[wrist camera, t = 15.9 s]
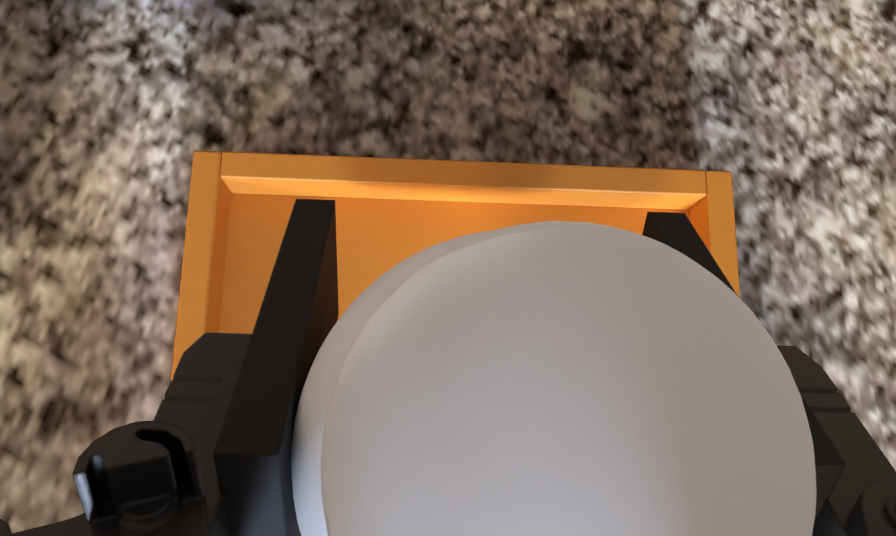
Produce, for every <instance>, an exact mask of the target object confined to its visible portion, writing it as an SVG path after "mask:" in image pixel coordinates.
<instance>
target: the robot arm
mask: <svg viewBox="0 0 896 536" xmlns="http://www.w3.org/2000/svg"><path fill="white" fill-rule="evenodd" d="M642 235H643V236H646V237H649V238H652V239H654V240H656V241H659V242H661V243H664V244H666V245H668V246H670V247H671V248H673V249H675V250H677V251H679V252H680V253H682V254H684V255H686V256H687V257H689V258H690V259H692V260H693V261H695V262H696V263H698V264H700V265H701V266H702V267H704V268H705V269H706V270H708V271H709V272H711V273H712V274H713V275H715V276H716V277H717V278H718V279H720V280H721V281H722V282H723V283H724V284H725V285H727V286H728V287H729V288H730V289H731V290H732V291H733V292H734V293H735V294H736V292H735V291H734V289H733V287H732V286H731V284H730V283H729V281H728V280H727V278H726V277H725V275H724V273H723V272H722V270H721V269H720V267H719V266H718V264H717V263H716V261H715V259H714V258H713V256H712V255H711V253H710V252H709V250H708V249H707V247H706V245H705V244H704V242H703V241H702V239H701V238H700V236H699V235H698V233H697V231H696V230H695V228H694V227H693V225H692V224H691V222H690V221H689V219H688V217H687V216H686V214H685V213H673V212H647V216H646V220H645V224H644V229H643V233H642ZM736 295H737V294H736ZM737 296H738V295H737ZM338 314H339V307H338V275H337V243H336V211H335V200H319V199H296V200H295V203H294V206H293V209H292V212H291V216H290V219H289V222H288V225H287V228H286V231H285V234H284V237H283V240H282V243H281V246H280V249H279V253H278V256H277V259H276V262H275V265H274V268H273V271H272V274H271V277H270V280H269V283H268V286H267V290H266V293H265V296H264V299H263V302H262V305H261V308H260V311H259V314H258V317H257V320H256V323H255V327H254V330H253V333H252V334H243V333H204V334H203V335H202V336H201V337H200V338H199V339H198V340H196V341H195V342H194V343H193V344H192V345H191V346H190V347H189V348H188V349H187V350H186V351H184V352H183V355H182V357H181V359H180V361H179V364H178V366H177V368H176V370H175V373H174V375H173V380H171V382H170V384H169V386H168V389H167V391H166V393H165V399H164V400H162V402H161V405H160V407H159V409H158V411H157V414H156V416H155V418H154V421H141V422H134V423H131V424H128V425H125V426H121V427H118V428H115V429H113V430H111V431H109V432H108V433H106V434H105V435H103V436H101V437H100V438H98V439H96V440H95V441H93V442H92V443H91V444H90V446H89V447H88V448H87V449H86V450H85V451H84V452H83V453H82V454H81V455H80V456H79V458H78V461H77V464H76V466H75V469H74V472H73V474H72V475H73V478H74V481H75V484H76V487H77V490H78V493H79V496H80V500H81V503H82V506H83V509H84V512H85V513H84V514H82V515H80V516H77V517H74V518H71V519H68V520H65V521H61V522H57V523H53V524H49V525H45V526H41V527H37V528H33V529H29V530H25V531H21V532H17V533H13V534H12V532H11V529H10V527H9V525H8V523H6V522H5V521H3V520H2V519H0V536H301V533H300V530H299V526H298V522H297V516H296V511H295V505H294V500H293V487H292V474H291V447H292V438H293V429H294V422H295V417H296V413H297V409H298V405H299V401H300V397H301V394H302V390H303V387H304V385H305V382H306V379H307V376H308V374H309V371H310V368H311V366H312V364H313V362H314V360H315V358H316V355H317V353H318V351H319V349H320V347H321V346H322V344H323V342H324V341H325V339H326V337H327V336H328V334H329V332H330V331H331V329H332V328H333V327H334V325H335V324H336V322H337V320H338ZM777 347H778V349H779V351H780V352H781V354H782V356H783V357H784V359H785V361H786V363H787V365H788V367H789V369H790V370H791V373H792V376H793V379H794V381H795V383H796V386H797V388H798V390H799V393H800V395H801V398H802V402H803V405H804V409H805V412H806V416H807V419H808V423H809V428H810V432H811V436H812V440H813V447H814V457H815V470H816V491H817V495H816V513H815V520H814V526H813V533H812V536H896V471H895V470H894V468H893V467H892V465H891V464H890V463H889V461H888V460H887V458H886V457H885V456H884V454H883V453H882V451H881V450H880V448H879V447H878V446H877V444H876V443H875V441H874V440H873V439H872V437H871V436H870V434H869V433H868V432H867V430H866V429H865V427H864V426H863V425H862V423H861V422H860V420H859V419H858V418H857V416H856V415H855V413H851V411H850V409H851V408H850V406H849V405H848V403H847V402H846V401H845V399H844V398H843V396H842V395H841V394H838V393H837V388H836V387H835V385H834V384H833V382H832V381H831V379H830V378H829V377H828V375H827V374H826V372H825V371H824V370H823V368H822V367H821V366H820V365H819V364H817V363H816V362H815V361H814V360H812V359H811V358H810V357H808V356H807V355H806V354H805V353H803V352H802V351H801V350H799V349H798V348H797V347H796V346H777Z"/></svg>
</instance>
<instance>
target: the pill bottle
mask: <svg viewBox="0 0 896 536" xmlns="http://www.w3.org/2000/svg"><path fill="white" fill-rule="evenodd" d="M291 474H292V487H293V500H294V505H295V511H296V516H297V522H298V526H299V530H300V533H301V536H812V533H813V526H814V520H815V513H816V495H817V491H816V470H815V457H814V447H813V440H812V436H811V432H810V428H809V423H808V419H807V416H806V412H805V409H804V405H803V402H802V398H801V395H800V393H799V390H798V388H797V386H796V383H795V381H794V379H793V376H792V373H791V370H790V369H789V367H788V365H787V363H786V361H785V359H784V357H783V356H782V354H781V352H780V351H779V349H778V347H777V346H776V344H775V342H774V340H773V339H772V337H771V336H770V335H769V333H768V332H767V331H766V329H765V328H764V327H763V325H762V324H761V323H760V321H759V320H758V319H757V317H756V316H755V315H754V313H753V312H752V311H751V309H750V308H749V307H748V306H747V305H746V304H745V303H744V302H743V301H742V300H741V299H740V298H739V297H738V296H737V295H736V294H735V293H734V292H733V291H732V290H731V289H730V288H729V287H728V286H727V285H725V284H724V283H723V282H722V281H721V280H720V279H718V278H717V277H716V276H715V275H713V274H712V273H711V272H709V271H708V270H706V269H705V268H704V267H702V266H701V265H700V264H698V263H696V262H695V261H693V260H692V259H690V258H689V257H687V256H686V255H684V254H682V253H680V252H679V251H677V250H675V249H673V248H671V247H670V246H668V245H666V244H664V243H661V242H659V241H656V240H654V239H652V238H649V237H646V236H643V235H640V234H637V233H634V232H631V231H627V230H624V229H621V228H616V227H612V226H608V225H603V224H596V223H589V222H569V221H544V222H535V223H528V224H520V225H515V226H510V227H506V228H502V229H498V230H493V231H486V232H478V233H473V234H469V235H464V236H460V237H457V238H454V239H451V240H448V241H445V242H441V243H439V244H436V245H433V246H431V247H428V248H426V249H424V250H422V251H420V252H418V253H416V254H414V255H412V256H410V257H408V258H407V259H405V260H403V261H402V262H400V263H399V264H397V265H396V266H394V267H393V268H391V269H390V270H388V271H387V272H386V273H384V274H383V275H381V276H380V277H379V278H378V279H377V280H375V281H374V282H373V283H372V284H371V285H370V286H369V287H368V288H367V289H365V290H364V291H363V292H362V293H361V294H360V295H359V296H358V297H357V298H356V299H355V300H354V301H353V302H352V303H351V305H350V306H349V307H348V308H347V310H346V311H345V312H344V313H343V315H342V316H341V317H340V318H339V320H338V321H337V322H336V324H335V325H334V327H333V328H332V329H331V331H330V332H329V334H328V336H327V337H326V339H325V341H324V342H323V344H322V346H321V347H320V349H319V351H318V353H317V355H316V358H315V360H314V362H313V364H312V366H311V368H310V371H309V374H308V376H307V379H306V382H305V385H304V387H303V390H302V394H301V397H300V401H299V405H298V409H297V413H296V417H295V422H294V429H293V438H292V447H291Z"/></svg>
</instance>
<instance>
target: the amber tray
mask: <svg viewBox="0 0 896 536" xmlns="http://www.w3.org/2000/svg"><path fill="white" fill-rule="evenodd" d="M296 199H319V200H335V211H336V243H337V275H338V307H339V314H338V320H339V318H340V317H341V316H342V315H343V313H344V312H345V311H346V310H347V308H348V307H349V306H350V305H351V303H352V302H353V301H354V300H355V299H356V298H357V297H358V296H359V295H360V294H361V293H362V292H363V291H364V290H365V289H367V288H368V287H369V286H370V285H371V284H372V283H373V282H374V281H375V280H377V279H378V278H379V277H380V276H381V275H383V274H384V273H386V272H387V271H388V270H390V269H391V268H393V267H394V266H396V265H397V264H399V263H400V262H402V261H403V260H405V259H407V258H408V257H410V256H412V255H414V254H416V253H418V252H420V251H422V250H424V249H426V248H428V247H431V246H433V245H436V244H439V243H441V242H445V241H448V240H451V239H454V238H457V237H460V236H464V235H469V234H473V233H478V232H486V231H493V230H498V229H502V228H506V227H510V226H515V225H520V224H528V223H535V222H544V221H569V222H589V223H596V224H603V225H608V226H612V227H616V228H621V229H624V230H627V231H631V232H634V233H637V234H640V235H642V233H643V229H644V224H645V220H646V216H647V212H673V213H685V214H686V216H687V217H688V219H689V221H690V222H691V224H692V225H693V227H694V228H695V230H696V231H697V233H698V235H699V236H700V238H701V239H702V241H703V242H704V244H705V245H706V247H707V249H708V250H709V252H710V253H711V255H712V256H713V258H714V259H715V261H716V263H717V264H718V266H719V267H720V269H721V270H722V272H723V273H724V275H725V277H726V278H727V280H728V281H729V283H730V284H731V286H732V287H733V289H734V291H735V292H736V294H737V295H738V297H739V298H740V287H739V273H738V258H737V243H736V229H735V214H734V200H733V185H732V173H731V172H730V171H706V172H705V171H704V170H684V169H658V168H633V167H607V166H582V165H556V164H531V163H505V162H480V161H454V160H429V159H403V158H378V157H352V156H327V155H301V154H276V153H250V152H223V153H221V152H219V151H194V154H193V164H192V174H191V184H190V194H189V204H188V214H187V224H186V234H185V244H184V254H183V264H182V274H181V284H180V294H179V304H178V314H177V324H176V334H175V344H174V354H173V364H172V374H171V380H173V375H174V373H175V370H176V368H177V366H178V364H179V361H180V359H181V357H182V355H183V352H184V351H186V350H187V349H188V348H189V347H190V346H191V345H192V344H193V343H194V342H195V341H196V340H198V339H199V338H200V337H201V336H202V335H203V334H204V333H243V334H252V333H253V330H254V327H255V323H256V320H257V317H258V314H259V311H260V308H261V305H262V302H263V299H264V296H265V293H266V290H267V286H268V283H269V280H270V277H271V274H272V271H273V268H274V265H275V262H276V259H277V256H278V253H279V249H280V246H281V243H282V240H283V237H284V234H285V231H286V228H287V225H288V222H289V219H290V216H291V212H292V209H293V206H294V203H295V200H296ZM338 320H337V321H338Z"/></svg>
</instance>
